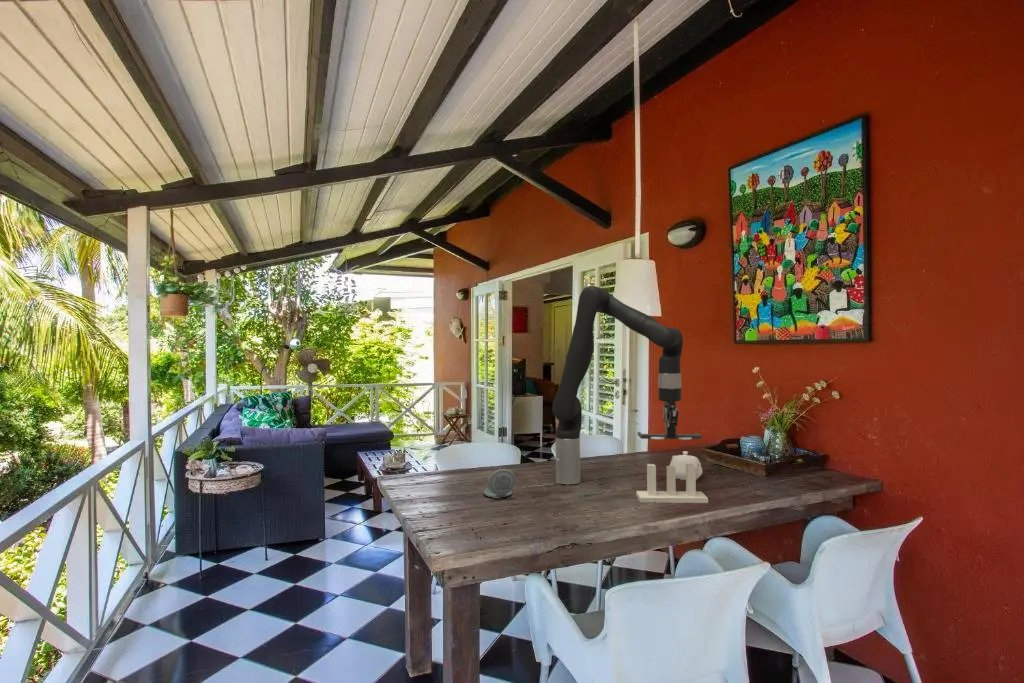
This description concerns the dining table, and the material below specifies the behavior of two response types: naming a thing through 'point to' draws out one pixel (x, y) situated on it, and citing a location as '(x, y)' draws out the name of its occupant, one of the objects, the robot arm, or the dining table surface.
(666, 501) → the display stand
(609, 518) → the dining table surface
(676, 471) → the teapot
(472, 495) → the dining table surface
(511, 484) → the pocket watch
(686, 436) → the spectacle frame
